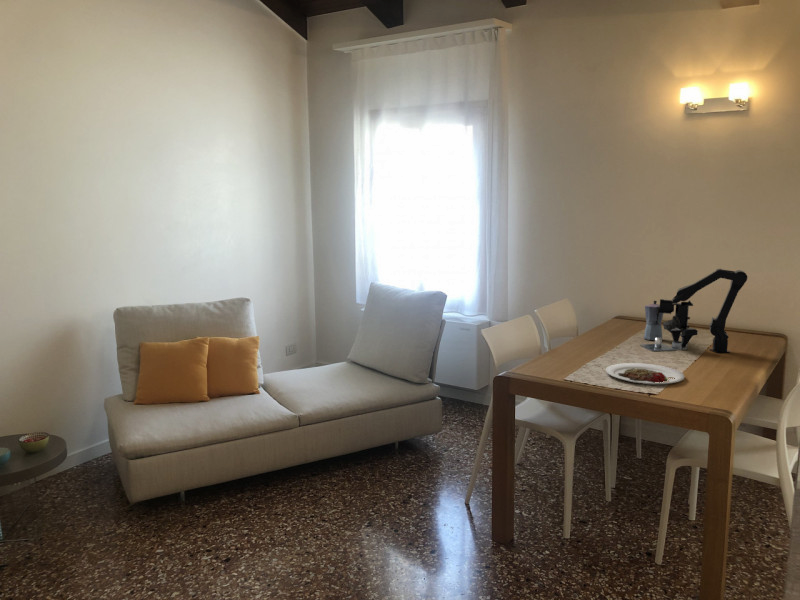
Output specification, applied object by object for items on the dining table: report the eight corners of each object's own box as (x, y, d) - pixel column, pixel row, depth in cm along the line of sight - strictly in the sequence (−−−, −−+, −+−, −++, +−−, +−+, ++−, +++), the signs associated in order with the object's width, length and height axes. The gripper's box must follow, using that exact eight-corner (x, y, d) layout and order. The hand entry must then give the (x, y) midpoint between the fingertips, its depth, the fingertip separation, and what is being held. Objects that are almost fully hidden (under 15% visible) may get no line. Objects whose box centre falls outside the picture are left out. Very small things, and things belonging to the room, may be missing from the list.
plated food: (621, 363, 281) (621, 356, 281) (693, 375, 263) (694, 367, 262) (594, 378, 258) (594, 370, 258) (670, 392, 240) (671, 383, 239)
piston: (676, 350, 304) (677, 340, 303) (652, 351, 302) (653, 341, 301) (662, 344, 316) (663, 335, 315) (639, 345, 314) (640, 335, 313)
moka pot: (658, 336, 335) (660, 298, 332) (667, 343, 320) (670, 303, 316) (639, 336, 336) (642, 298, 333) (648, 342, 321) (650, 303, 317)
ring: (689, 349, 306) (689, 343, 305) (677, 350, 305) (677, 343, 304) (681, 346, 312) (682, 340, 311) (669, 347, 311) (670, 341, 311)
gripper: (655, 311, 314) (653, 342, 316) (677, 318, 296) (674, 351, 298) (676, 310, 315) (674, 341, 318) (699, 317, 297) (697, 350, 300)
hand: (679, 346), depth 308 cm, fingers closed on ring, 6 cm apart
